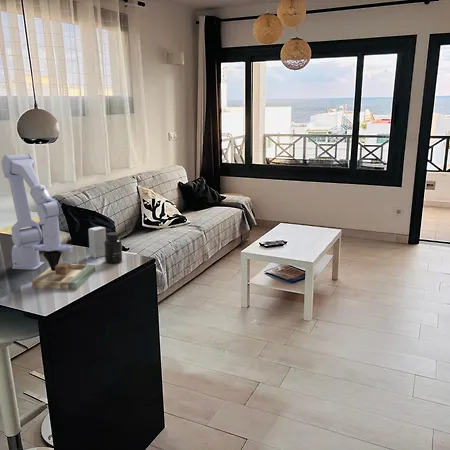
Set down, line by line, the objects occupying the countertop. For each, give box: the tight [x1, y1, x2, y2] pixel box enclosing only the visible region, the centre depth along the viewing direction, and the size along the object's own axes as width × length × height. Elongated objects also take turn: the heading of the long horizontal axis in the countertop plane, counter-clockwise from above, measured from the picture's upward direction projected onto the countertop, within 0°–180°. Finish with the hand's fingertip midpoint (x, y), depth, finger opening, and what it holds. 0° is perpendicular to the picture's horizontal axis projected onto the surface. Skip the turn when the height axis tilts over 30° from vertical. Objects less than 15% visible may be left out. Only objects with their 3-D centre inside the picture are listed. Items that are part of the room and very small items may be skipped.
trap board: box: [31, 263, 97, 291], centre depth 165 cm, size 16×18×2 cm
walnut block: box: [55, 262, 71, 275], centre depth 164 cm, size 4×4×3 cm
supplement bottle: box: [104, 231, 123, 265], centre depth 182 cm, size 7×7×12 cm
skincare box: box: [88, 225, 107, 259], centre depth 190 cm, size 6×4×12 cm
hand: (54, 269), depth 164 cm, fingers closed
